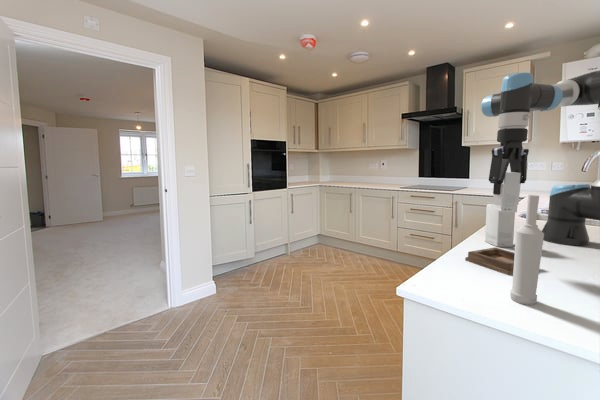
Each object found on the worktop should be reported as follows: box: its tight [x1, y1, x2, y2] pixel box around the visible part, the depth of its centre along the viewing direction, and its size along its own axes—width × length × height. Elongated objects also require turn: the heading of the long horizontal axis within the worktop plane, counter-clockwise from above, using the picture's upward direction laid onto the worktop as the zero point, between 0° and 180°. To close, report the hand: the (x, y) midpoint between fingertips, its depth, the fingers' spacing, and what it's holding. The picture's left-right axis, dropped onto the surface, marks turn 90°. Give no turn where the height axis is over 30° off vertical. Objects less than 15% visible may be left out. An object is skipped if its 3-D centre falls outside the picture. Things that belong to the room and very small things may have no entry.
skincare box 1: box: [494, 171, 521, 213], centre depth 95 cm, size 6×4×12 cm
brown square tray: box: [464, 247, 515, 276], centre depth 98 cm, size 14×14×3 cm
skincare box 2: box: [484, 203, 516, 248], centre depth 120 cm, size 8×7×16 cm
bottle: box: [509, 194, 544, 306], centre depth 72 cm, size 5×5×25 cm
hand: (505, 204), depth 96 cm, fingers closed on skincare box 1, 7 cm apart
